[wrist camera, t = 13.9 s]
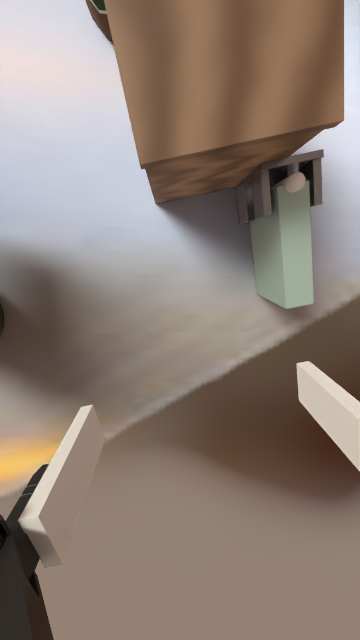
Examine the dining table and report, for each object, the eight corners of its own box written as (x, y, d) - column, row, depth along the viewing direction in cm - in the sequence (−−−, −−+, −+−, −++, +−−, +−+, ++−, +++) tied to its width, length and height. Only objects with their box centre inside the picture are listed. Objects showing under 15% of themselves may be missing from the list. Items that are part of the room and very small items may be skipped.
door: (256, 293, 46) (289, 310, 33) (246, 197, 41) (280, 175, 29) (283, 288, 46) (326, 303, 33) (276, 191, 41) (323, 166, 28)
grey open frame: (239, 224, 42) (265, 215, 31) (235, 187, 40) (261, 162, 29) (282, 215, 42) (324, 202, 31) (279, 177, 40) (323, 149, 29)
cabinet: (154, 206, 41) (139, 164, 20) (135, 119, 37) (95, -38, 17) (256, 184, 40) (343, 120, 20) (247, 94, 37) (344, -95, 17)
